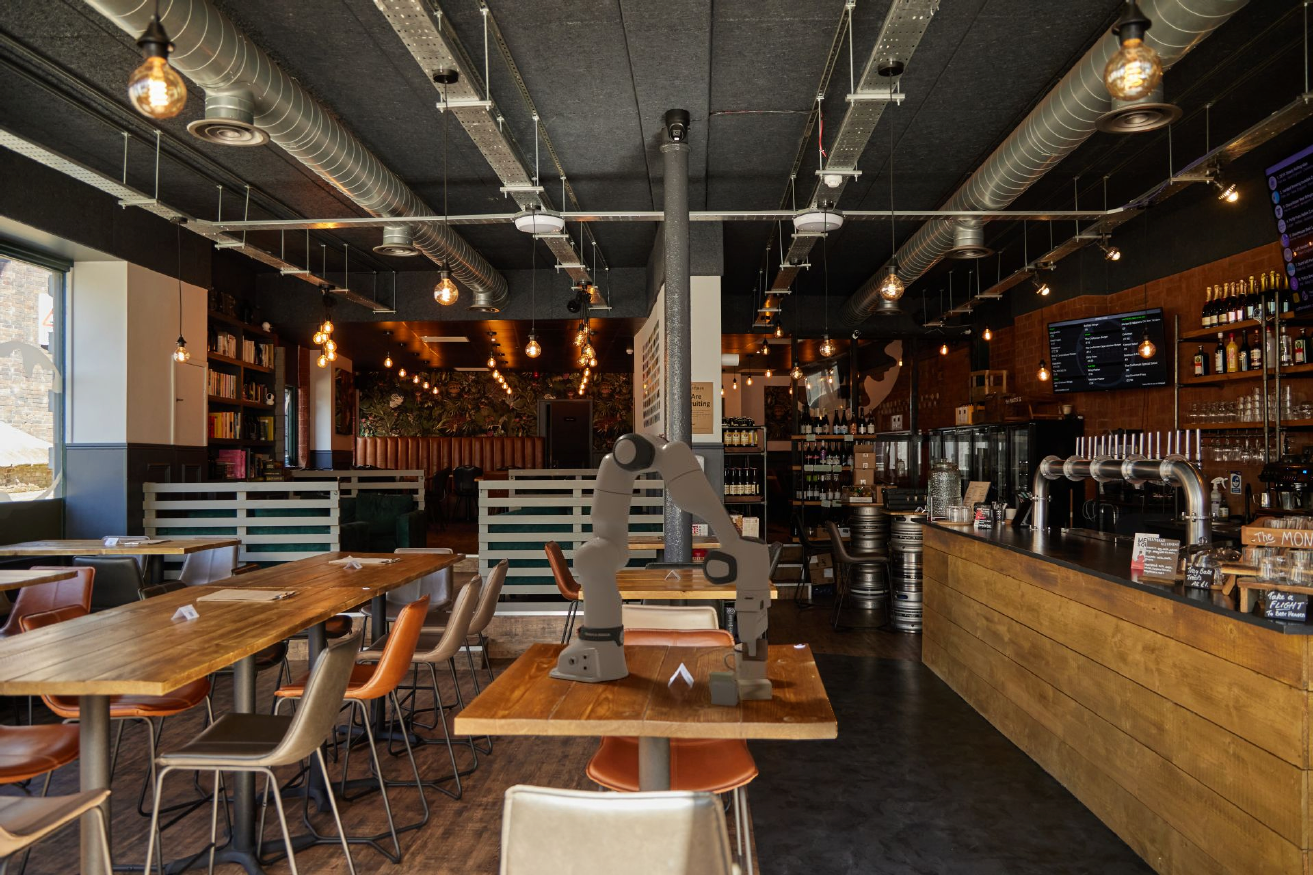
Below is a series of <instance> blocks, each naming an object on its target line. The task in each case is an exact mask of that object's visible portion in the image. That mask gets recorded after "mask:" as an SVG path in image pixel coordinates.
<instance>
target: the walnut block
mask: <svg viewBox="0 0 1313 875" xmlns="http://www.w3.org/2000/svg"><path fill="white" fill-rule="evenodd" d="M741 643H742V661H759V662H766V663H767V661H768V660H769V651H768V649H769V648H768V644H769V643H768V638H767V639H765V638H761V639H756V648H757V654H756V655H755V656H750V655H749V649H748V645H747V642H741Z"/></svg>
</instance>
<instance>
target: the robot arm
mask: <svg viewBox="0 0 1313 875" xmlns="http://www.w3.org/2000/svg"><path fill="white" fill-rule="evenodd" d="M657 473H658V474H660V477H661V478H662V480H663V482H664V485H665V488H666V489H667V491H668V494H669V496H670V499H671V500H672V501H673V503H674V505H676V507H678V509H680V510H682V511H684V512H686V513H689V514H692V515H695V516H697V517H699V518H701V519H702V520H704V521H705V522H706V523H707V525H708V526H709V527H710V528H711V530H712V532H713V534H714V535H715V537H716V539H717V541H718V542H719V545H720V546H721V547H719V548H715V549H713V550H710V551H709V552H707V553H706V554H705V556H704V557H703V560H702V565H701V566H702V573H703V575H704V578H705V579H706V581H708V582H709V583H711V584H713V585H717V586H725V585H732V584H734V585H735V587H736V588H735V589H736V591H735V592H736V596H735V597H736V598H735V602H734V611H735V612H736V613H737V614H736V619H737V621H736V622H737V630H738V632H737V633H738V638H739V641H740V642H741V643H742V642H747V645H748V649H749V655H750V656H755V655H756V654H757V648H756V639H762V635H763V633H764V632H766V630H767V629H768V625H769V622H768V621H769V620H768V608H770V607H771V606H772V604H771V603H772V600H771V598H772V596H771V584H770V578H769V577H770V574H771V561H770V552H769V551H770V550H769V546H768V544H767V542H766V541H765V540H764V539H763V538H760V537H758V536H751V535H750V536H749V535H742V534H741V532H740V530H739V529H738V527H737V526H736V523H735V522H734V520H733V519H732V516H731V515H730V513H729V511H728V509H727V508H726V506H725V504H724V503H723V501H722V500H721V499H720V498H719V496H718V495H717V493H716V492H715V491H714V489H713V487H712V485H711V484H710V482H709V480H708V478H707V476H706V475H705V472H704V470H703V468H702V465H701V463H700V462H699V460H698V458H697V456H696V455H695V454H694V452H693V451H692V449H691V448H690V446H689V445H688V444H687V443H686V442H684V441H681V440H673V441H669V440H668V439H667V438H665V437H663V436H662V435H655V434H651V433H635V432H631V433H626V434H623V435H621V436H619V437H618V438H617V439H616V440H615V443H614V444H613V446H612V452H611V453H607V454H605V456H603V458H602V460H601V462H600V465H599V468H598V471H597V475H596V480H595V484H594V489H593V494H592V495H593V496H592V502H591V508H590V512H589V513H590V519H591V522H592V523H591V524H592V539H591V540H588V541H585V542H584V543H582V545H580V546H579V548H578V549H577V550H576V551H575V552H574V555H573V558H572V559H573V560H572V561H573V562H572V563H573V568H574V569H575V571H576V572H577V574H578V578H579V583H580V586H581V592H582V597H583V599H582V600H583V624H581V626H579V627H578V628H576V629H575V634H577V638H576V639H575V640H573V642H571V643H570V644H569V645H568V646H567V647H565V648H564V649H562V651H561V652H560V654H559V656H558V659H557V664H556V665H557V666H556V667H554V668H552V669H550V671H549V677H550V678H556V679H563V680H564V679H565V680H571V681H577V682H579V681H580V682H586V683H598V682H602V681H611V680H612V681H614V680H619V679H622V678H626V677H627V676H628V675H629V671H628V667H627V663H626V659H625V658H626V657H625V652H624V651H625V650H624V644H625V625H624V624H623V596H622V594H621V593H620V590H619V585H618V582H617V573H619V572H621V571H622V570H623V569H624V568H626V566H627V564H628V563H629V560H630V558H631V550H630V547H629V518H630V511H631V505H632V497H633V492H634V485H635V480H636V479H637V477H638V476H639V475H640V474H643V475H649V474H657Z"/></svg>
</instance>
